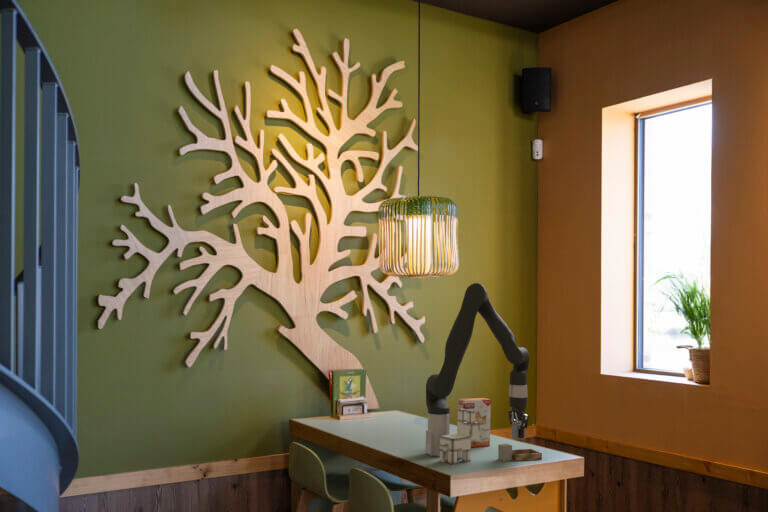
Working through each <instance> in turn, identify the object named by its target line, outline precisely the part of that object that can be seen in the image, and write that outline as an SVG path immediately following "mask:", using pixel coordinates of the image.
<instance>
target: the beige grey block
mask: <svg viewBox="0 0 768 512" xmlns="http://www.w3.org/2000/svg"><path fill="white" fill-rule="evenodd" d="M497 446H498V447H497V448H498V450H497V451H498V452H497V454H498V455H497V460H499V459H500V461H502V460H503V462H508V461H510V462H511V461H513V459H512V450H513V445H512V444H509V443H500V444H499V443H498V445H497Z"/></svg>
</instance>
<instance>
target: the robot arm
mask: <svg viewBox="0 0 768 512" xmlns="http://www.w3.org/2000/svg"><path fill="white" fill-rule="evenodd" d="M477 314H480V316H481V317H482V319H483V320H484V322H485V323H486V325H487V326H488V328H489V330H490V331H491V333H492V334H493V336H494V338H495V339H496V340H497V342H498V343H499V344H500V346H501V349H502V351H503V354H504V356H505V358H506V360H507V361H508V362H509V363H510V364H512V365H513V366H512V369H511V371H510V373H509V390H508V400H509V401H508V405H509V407H510V408H511V409H509V410H507V414H508V420H509V425H510V426H512V424H515V423H517V424H518V428H519V429H518V437H519V438H524V429H525V430H526V429H527V428H528V424H529V418H530V415H529V414H526V409H527V408H528V404H529V403H528V397H529V396H528V379H527V378H528V375H527V374H528V369H529V365H530V353H529V351H528V349H527V348H525V347H523V346H518V345H517V344H516V342H515V341H516V335H514V333H513V332H512V330H511V329H510V327H509V326H508V324H507V323H506V321H504V319H503V318H502V317H501V316H500V314H498V312H497V311H496V309H495V308H494V305H493V304H492V302H491V300H490V298H489V294H488V292H487V289H486V288H485V286H484V285H483V284H481V283H477V282H473V283H471V284H470V285H469V286H468V287H466V289H465V291H464V296H463V299H462V302H461V306H460V309H459V312H458V314H457V316H456V318H455V320H454V322H453V325H452V327H451V329H450V331H449V334H448V336H447V339H446V341H445V345H444V360H443V363H442V367H441V369H440V371H439V373H436V374H432V375H430V376H429V377H428V378H427V380H426V382H425V403H426V408H427V430H425V454H426V455H428V456H429V457H440V450H439V447H440V436H444V435H450V428H451V427H450V424H451V423H450V421H451V419H450V417H451V416H450V414H451V413H450V412H451V407H450V406H449V404H448V402H447V398H448V397H449V396H450V395H451V393H452V392H453V389H454V386H455V382H456V379H457V374H458V372H459V370H460V369H459V368H460V367H461V363H462V361H463V359H464V358H465V357H464V356H465V354H466V351H467V349H468V346H469V344H470V342H471V340H472V335H473V332H474V325H475V321H476V317H477ZM525 408H526V409H525ZM520 423H521V425H520Z"/></svg>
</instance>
